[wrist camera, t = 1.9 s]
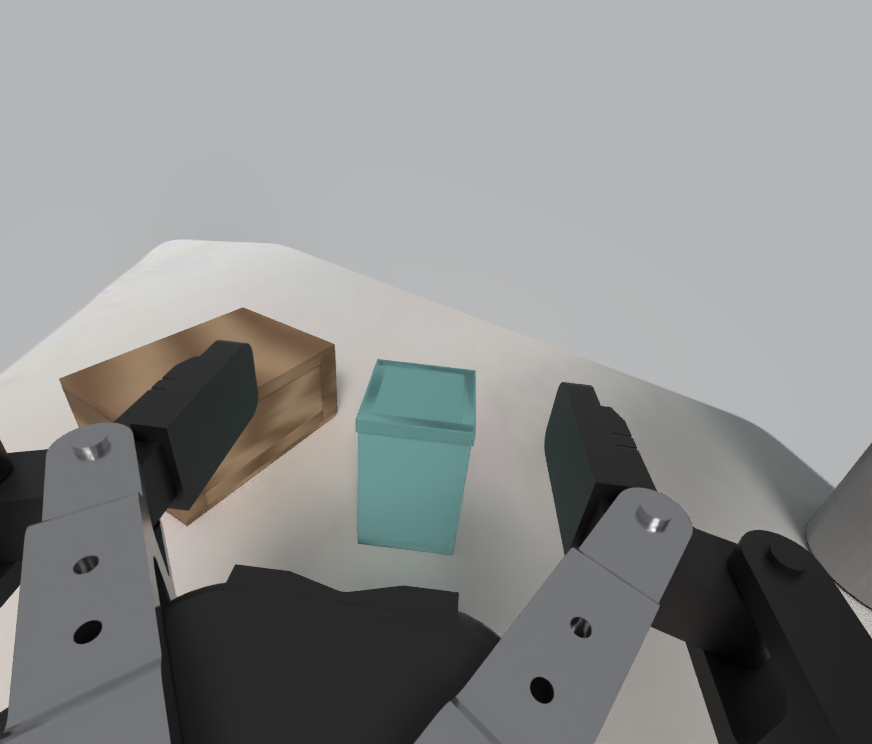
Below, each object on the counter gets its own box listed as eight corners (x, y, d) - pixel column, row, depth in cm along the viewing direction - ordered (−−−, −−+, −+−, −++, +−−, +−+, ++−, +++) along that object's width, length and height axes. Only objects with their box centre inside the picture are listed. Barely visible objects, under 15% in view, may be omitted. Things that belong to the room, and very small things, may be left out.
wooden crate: (252, 375, 43) (242, 307, 40) (337, 415, 39) (335, 344, 36) (92, 460, 33) (58, 378, 29) (187, 528, 29) (161, 442, 25)
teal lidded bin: (374, 474, 34) (377, 358, 29) (457, 483, 34) (475, 370, 29) (356, 544, 29) (355, 419, 24) (453, 556, 29) (475, 434, 23)
